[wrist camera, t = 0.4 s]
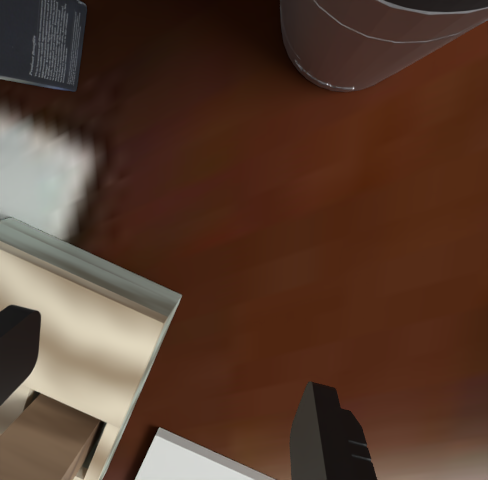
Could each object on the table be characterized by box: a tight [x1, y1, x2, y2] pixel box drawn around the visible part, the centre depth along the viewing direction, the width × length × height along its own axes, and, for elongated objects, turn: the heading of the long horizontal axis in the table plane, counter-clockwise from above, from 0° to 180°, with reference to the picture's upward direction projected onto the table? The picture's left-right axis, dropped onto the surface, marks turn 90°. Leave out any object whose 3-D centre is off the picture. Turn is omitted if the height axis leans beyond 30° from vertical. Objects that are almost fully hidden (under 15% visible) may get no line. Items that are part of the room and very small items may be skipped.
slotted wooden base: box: [0, 217, 182, 480], centre depth 32 cm, size 22×16×5 cm
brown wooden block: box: [0, 393, 105, 480], centre depth 28 cm, size 5×5×12 cm
